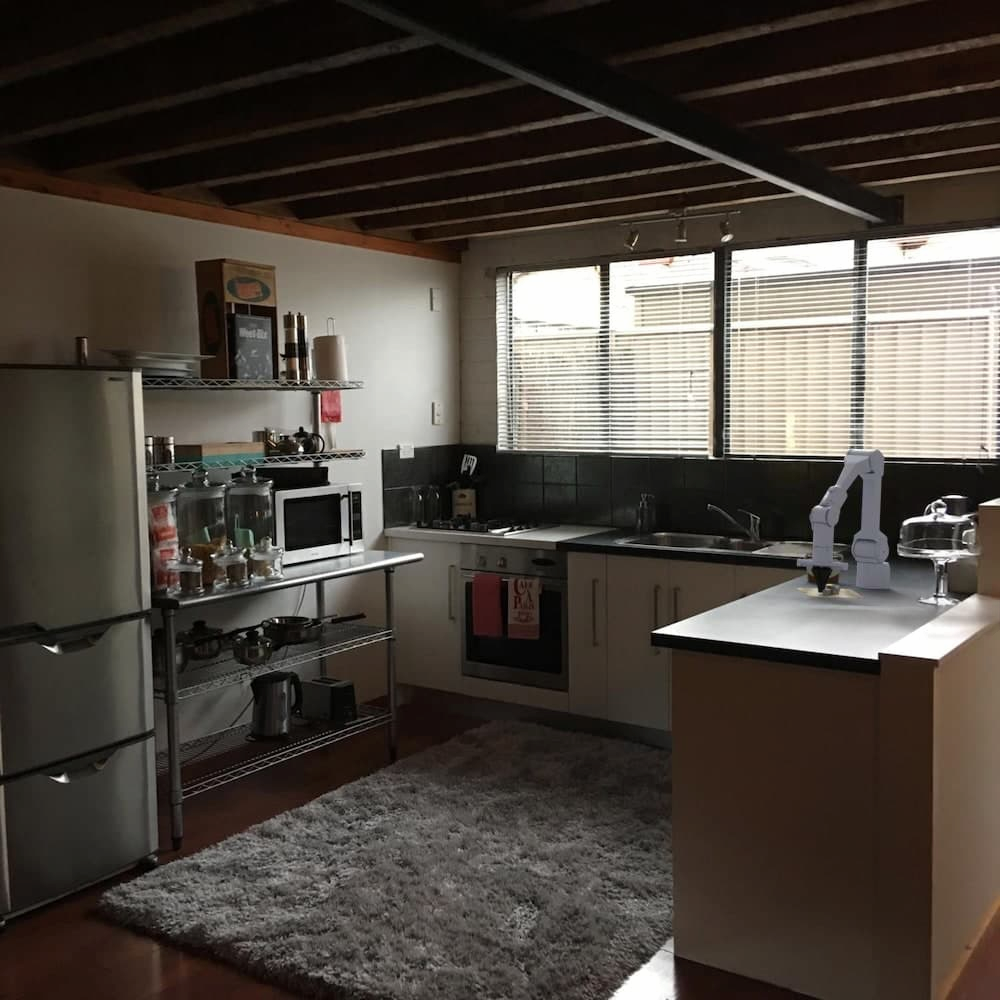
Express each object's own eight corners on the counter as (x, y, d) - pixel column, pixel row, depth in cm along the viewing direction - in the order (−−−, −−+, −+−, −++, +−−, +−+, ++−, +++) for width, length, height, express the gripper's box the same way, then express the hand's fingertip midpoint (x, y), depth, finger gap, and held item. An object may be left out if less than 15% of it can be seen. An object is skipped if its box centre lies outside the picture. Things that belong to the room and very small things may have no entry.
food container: (838, 583, 347) (840, 552, 347) (843, 586, 341) (844, 554, 341) (799, 582, 349) (800, 551, 348) (803, 585, 343) (804, 553, 342)
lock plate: (849, 592, 330) (850, 581, 330) (864, 601, 314) (865, 589, 314) (796, 591, 331) (797, 580, 330) (809, 600, 315) (809, 588, 314)
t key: (830, 589, 328) (831, 584, 328) (844, 591, 326) (844, 585, 326) (818, 594, 318) (818, 589, 318) (832, 596, 316) (832, 590, 316)
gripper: (794, 545, 319) (792, 591, 320) (844, 549, 311) (842, 596, 312) (801, 543, 324) (800, 588, 326) (850, 547, 317) (848, 593, 318)
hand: (821, 592), depth 319 cm, fingers closed
